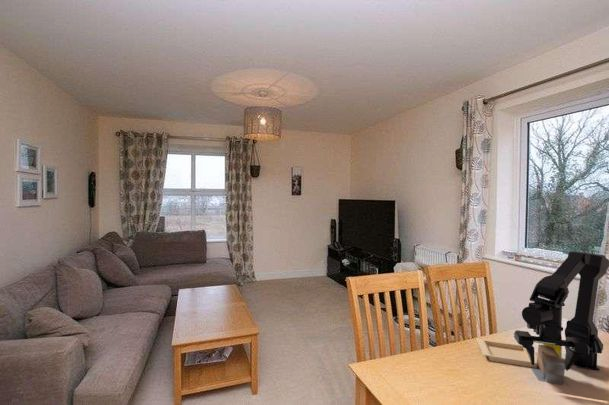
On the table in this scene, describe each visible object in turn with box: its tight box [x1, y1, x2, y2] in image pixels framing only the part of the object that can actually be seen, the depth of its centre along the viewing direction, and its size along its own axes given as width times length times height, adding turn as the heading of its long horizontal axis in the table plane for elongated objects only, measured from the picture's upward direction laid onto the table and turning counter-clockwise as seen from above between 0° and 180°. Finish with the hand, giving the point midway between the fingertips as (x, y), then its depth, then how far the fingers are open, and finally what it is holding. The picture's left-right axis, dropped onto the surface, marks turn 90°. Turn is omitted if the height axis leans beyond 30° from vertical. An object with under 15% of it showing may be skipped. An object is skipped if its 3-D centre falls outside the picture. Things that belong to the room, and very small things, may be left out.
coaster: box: [529, 367, 571, 387], centre depth 102 cm, size 8×8×1 cm
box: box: [537, 344, 566, 386], centre depth 101 cm, size 4×9×7 cm, turn 161°
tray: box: [476, 338, 538, 368], centre depth 115 cm, size 18×13×2 cm
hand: (549, 367), depth 102 cm, fingers open, 9 cm apart
